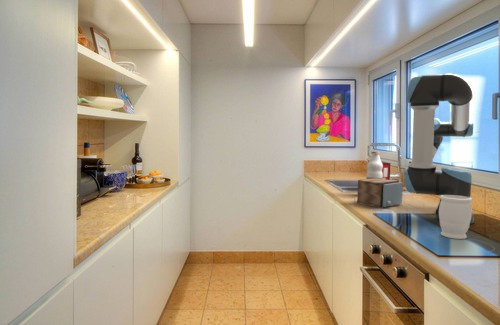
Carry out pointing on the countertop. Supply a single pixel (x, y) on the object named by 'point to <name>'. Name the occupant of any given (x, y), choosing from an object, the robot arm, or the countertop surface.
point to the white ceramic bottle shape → (375, 166)
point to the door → (392, 194)
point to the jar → (455, 215)
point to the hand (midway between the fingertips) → (409, 187)
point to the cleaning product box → (385, 170)
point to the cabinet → (372, 191)
